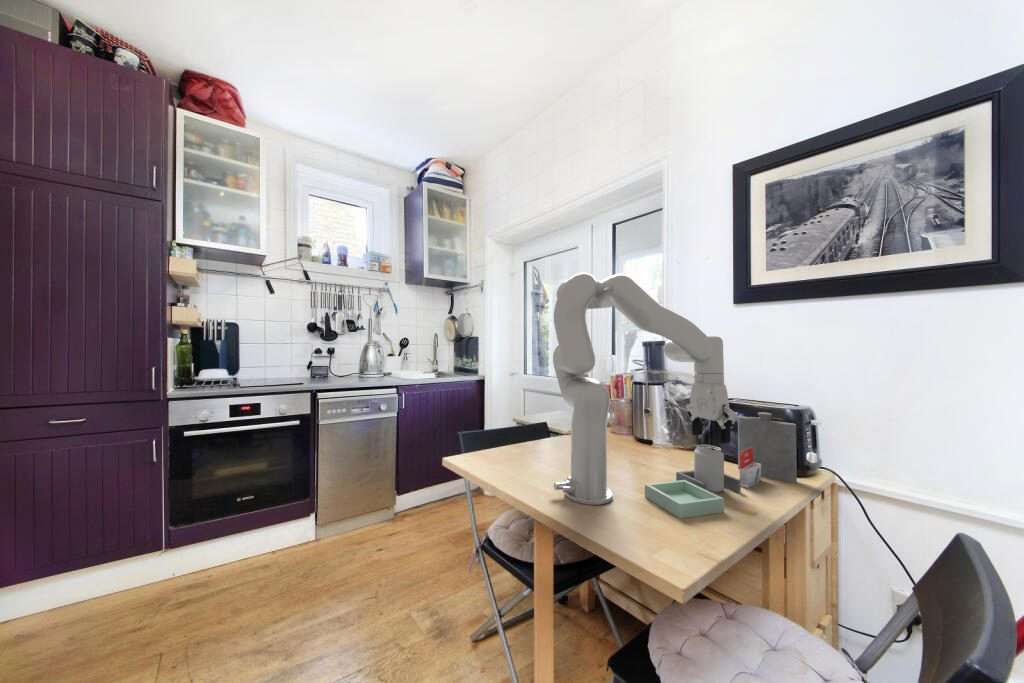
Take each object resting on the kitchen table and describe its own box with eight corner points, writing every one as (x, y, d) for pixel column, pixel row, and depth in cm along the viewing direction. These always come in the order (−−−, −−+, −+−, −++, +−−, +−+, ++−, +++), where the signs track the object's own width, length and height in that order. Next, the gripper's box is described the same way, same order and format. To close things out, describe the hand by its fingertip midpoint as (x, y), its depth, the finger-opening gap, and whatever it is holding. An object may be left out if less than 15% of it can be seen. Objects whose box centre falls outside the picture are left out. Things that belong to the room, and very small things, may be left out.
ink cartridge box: (761, 480, 110) (761, 448, 110) (748, 489, 103) (748, 454, 103) (752, 478, 112) (752, 446, 112) (738, 486, 105) (738, 452, 105)
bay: (703, 497, 96) (702, 484, 96) (676, 483, 106) (676, 472, 106) (740, 492, 100) (740, 479, 100) (711, 479, 110) (711, 468, 110)
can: (729, 494, 99) (729, 450, 99) (702, 493, 99) (702, 450, 99) (714, 484, 106) (714, 443, 107) (689, 483, 106) (689, 443, 107)
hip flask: (798, 481, 109) (797, 415, 110) (793, 484, 107) (793, 417, 107) (740, 467, 122) (740, 408, 123) (735, 469, 120) (735, 409, 120)
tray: (680, 518, 84) (680, 504, 84) (644, 496, 97) (644, 484, 97) (723, 511, 88) (723, 498, 88) (684, 491, 100) (684, 479, 100)
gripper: (676, 377, 111) (678, 432, 110) (724, 382, 94) (725, 447, 94) (696, 376, 113) (697, 431, 112) (746, 381, 96) (748, 444, 96)
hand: (710, 438), depth 103 cm, fingers open, 9 cm apart
